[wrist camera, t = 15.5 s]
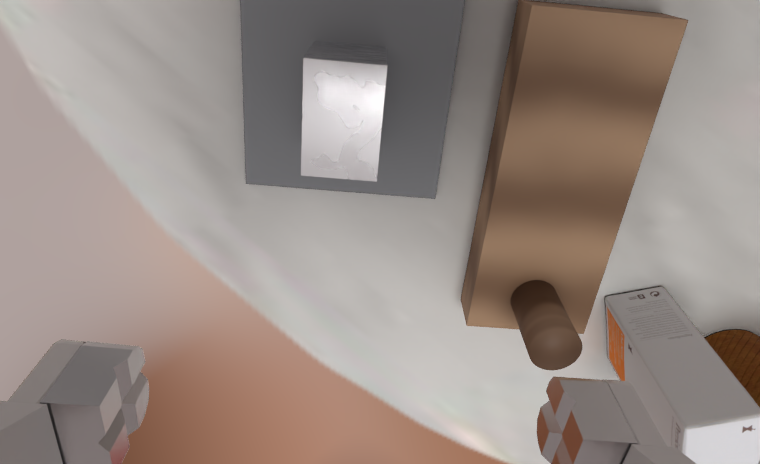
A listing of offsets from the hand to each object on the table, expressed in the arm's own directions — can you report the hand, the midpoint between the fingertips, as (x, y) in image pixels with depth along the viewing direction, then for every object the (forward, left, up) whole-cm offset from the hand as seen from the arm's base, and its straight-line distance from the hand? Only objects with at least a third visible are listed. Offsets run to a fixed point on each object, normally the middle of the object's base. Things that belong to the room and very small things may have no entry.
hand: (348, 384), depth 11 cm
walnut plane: (+4, +12, -24) cm, 27 cm away
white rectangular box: (0, -1, -23) cm, 23 cm away
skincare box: (+15, +21, -24) cm, 35 cm away
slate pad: (0, -1, -24) cm, 24 cm away
